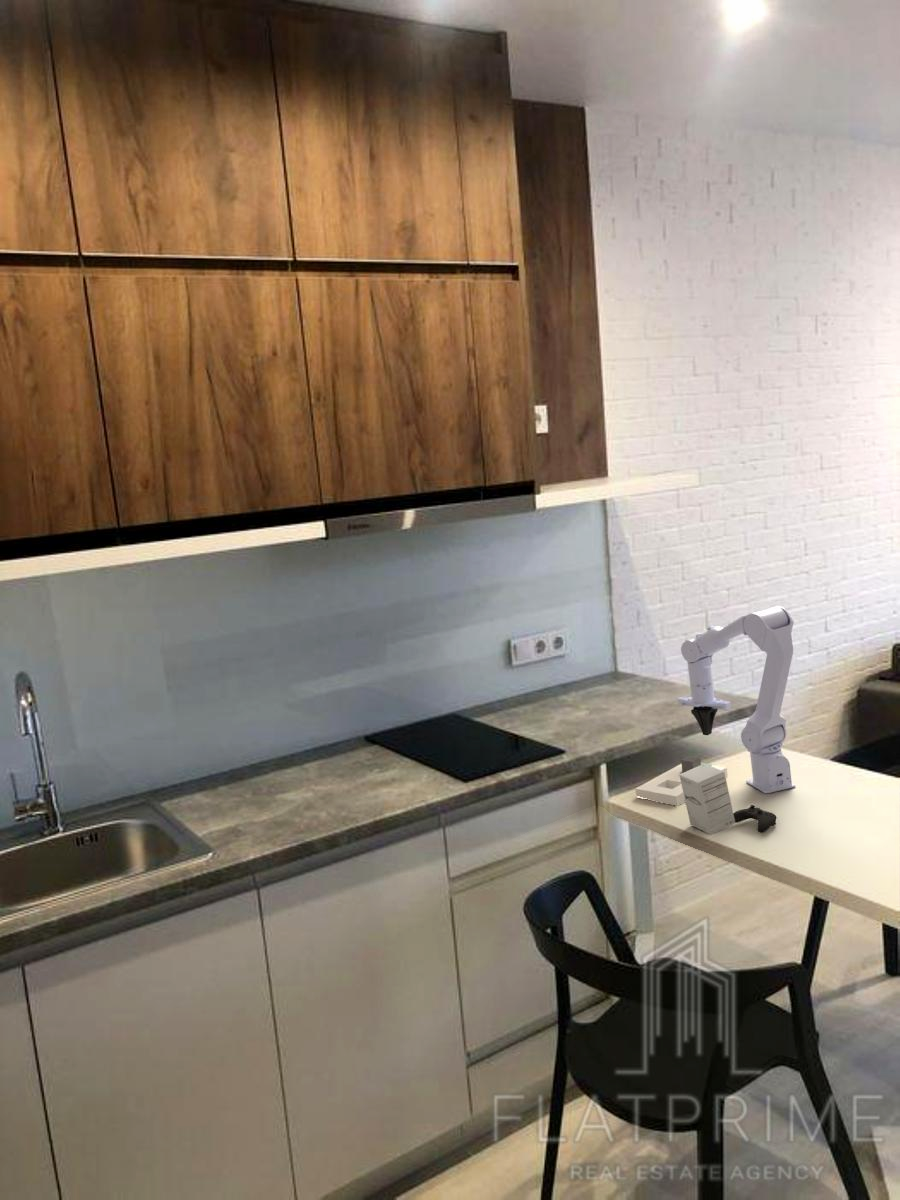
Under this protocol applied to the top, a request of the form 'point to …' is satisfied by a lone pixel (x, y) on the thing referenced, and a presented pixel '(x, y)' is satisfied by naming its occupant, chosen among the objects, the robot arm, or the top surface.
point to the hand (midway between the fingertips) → (707, 734)
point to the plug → (690, 763)
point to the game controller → (756, 817)
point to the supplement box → (707, 798)
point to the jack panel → (668, 786)
